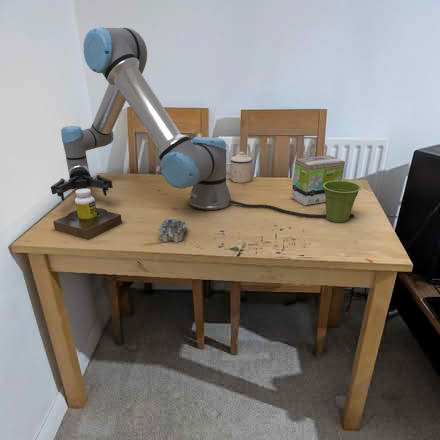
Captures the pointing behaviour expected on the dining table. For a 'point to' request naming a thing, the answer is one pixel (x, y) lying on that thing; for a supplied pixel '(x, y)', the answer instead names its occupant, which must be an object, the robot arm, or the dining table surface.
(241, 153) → the teacup with lid
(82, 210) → the pill bottle
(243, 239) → the dining table surface
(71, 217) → the bottle stand
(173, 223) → the egg carton
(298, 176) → the tea box
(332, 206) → the plant pot
